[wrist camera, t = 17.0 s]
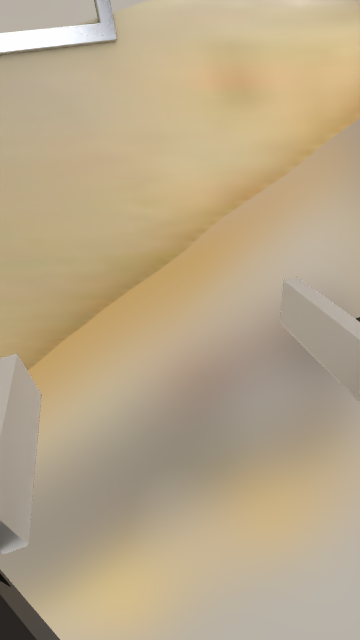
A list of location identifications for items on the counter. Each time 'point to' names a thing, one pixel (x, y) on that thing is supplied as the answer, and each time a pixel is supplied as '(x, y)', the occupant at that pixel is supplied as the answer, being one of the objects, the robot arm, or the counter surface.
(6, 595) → the robot arm
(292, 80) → the counter surface
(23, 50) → the metal frame
